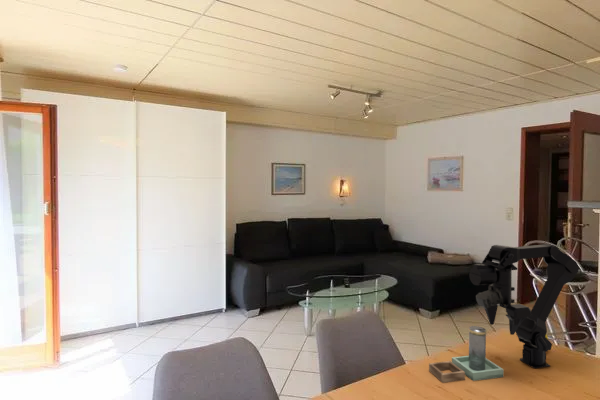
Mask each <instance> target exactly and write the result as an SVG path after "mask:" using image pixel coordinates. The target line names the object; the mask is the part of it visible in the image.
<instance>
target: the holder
mask: <svg viewBox="0 0 600 400" xmlns="http://www.w3.org/2000/svg"><path fill="white" fill-rule="evenodd" d="M428 371H429V372H430V373H431V375H434V377H435V378H437V379H438V380H439V381H440V382H441V383H443V384H444V383H451V382H458V381H465V380H466V375H465V372H464V371H463V370H461V369H460V368H459V367H457V366H456V365H455V364H453V363H452V360H447V361H439V362H431V363H428ZM443 371H451V372H445V373H444V372H443Z"/></svg>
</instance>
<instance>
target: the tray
mask: <svg viewBox="0 0 600 400" xmlns="http://www.w3.org/2000/svg"><path fill="white" fill-rule="evenodd" d="M451 362H452V363H453V364H455V365H456V366H457V367H459V368H460V369H461V370H463V371H464V372H465V377H467V378H469V379H470V380H471V381H473V382H475V381H482V380H483V381H484V380H491V379H492V380H493V379H498V378H499V379H500V378H504V376H505V375H504V372H505V371H504V368H502V367H501V366H499V365H498V364H496V363H495V362H493V361H491V360H490V359H488V358H487V357H486V364H485V370H482V371H475V370H472V369H471V368H469V355H465V356H464V355H463V356H452V357H451Z"/></svg>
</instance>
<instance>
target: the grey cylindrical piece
mask: <svg viewBox="0 0 600 400" xmlns="http://www.w3.org/2000/svg"><path fill="white" fill-rule="evenodd" d="M486 345H487V329H486V328H484V327H482V326H477V325H471V326H469V327H468V356H469V368H471V369H472V370H475V371H482V370H485V364H486V358H487V356H486V353H487V352H486V351H487V349H486V348H487V346H486Z"/></svg>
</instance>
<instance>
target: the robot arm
mask: <svg viewBox="0 0 600 400" xmlns="http://www.w3.org/2000/svg"><path fill="white" fill-rule="evenodd" d="M537 258H542V260H543V262H544V263H545V264H546V265H547V266H546V269H545V270H546V276H547V278H546V280H545V282H544V284H543V287H542V288H541V290H540V291H539V294H538V297H537V299H536V300H535V302H534V305H533V306H532V309H531V308H530V307H529V306H526V305H524V304H521V303H517V304H516V302H515V299H513V298H512V291H513V292H514V291H515V290H516V289H515V287H513V286H512V280H513V279H512V271H517V270H518V267H517V266H515V263H518V262H519V261H521V260H527V259H537ZM579 270H580V267H579V265H578V262H577V261H576V260H575V259H573V258H572V256H571V257H570V256H569V255H568V254H566V253H565V252H563V251H561V250H560V248H559V247H557V246H556V245H553V244H547V243H542V244H538V245H537V244H534V245H525V246H523V245H522V246H515V247H514V246H508V245H499V244H494V245H491V247H490V248H489V251H488V252H487V254H486V255H485V256H484V259H483V260H482V262H481V263H474V264H473V267H472V268H471V269H470V270H469V280H470V282H471V283H472V285H474V286H485V285H488V289H487V290H484V291H482V292H477V294H476V295H475V302H477V304H478V306H481V307H483V310H484V311H485V314H486V316H487V319H488V322H489V324H490V325H491V326H492V325H494V323H495V320H496V315H497V310H498V307H500V308H503V309H505V312H506V314H505V316H506V317H507V318H508V325H509V326H508V327H509V335H511V336H514V335H515V334H516V336H517V339H518V341H519V342H520V343H523V345H522V352H521V353H522V355H521V356H522V358H520V357H519V361H521V362H522V363H524V364H526V365H528V366H529V367H531V368H533V369H541V368H548V367H551V365H550V364H549V363H547V352H548V351H551V350H552V346H553V343H552V342H551V341H550V340H549V338H548V339H547V338H546V337H545V336H546V335H547V333H548V330H547V324H546V323H547V320H548V318H549V316H550V313H551V312H552V309H553V308H554V305H555V304H556V301H557V299H558V298H559V295H560V294H561V291H562V289H563V288H564V285H566V284H568V283H569V282H571V281H573V280H574V278H575V277H576V276H577V274H578V273H579ZM514 303H515V304H514Z"/></svg>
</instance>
